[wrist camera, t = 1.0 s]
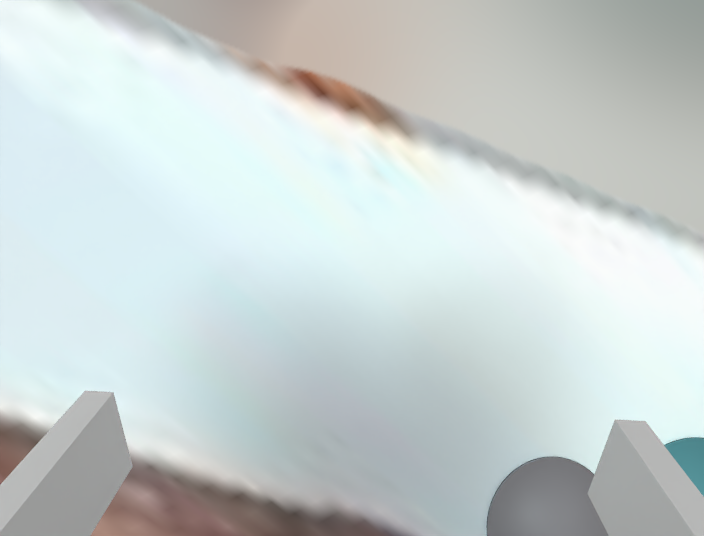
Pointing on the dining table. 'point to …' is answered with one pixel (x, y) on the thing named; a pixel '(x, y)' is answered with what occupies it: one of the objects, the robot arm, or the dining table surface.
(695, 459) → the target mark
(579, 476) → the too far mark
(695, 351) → the dining table surface
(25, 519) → the robot arm
